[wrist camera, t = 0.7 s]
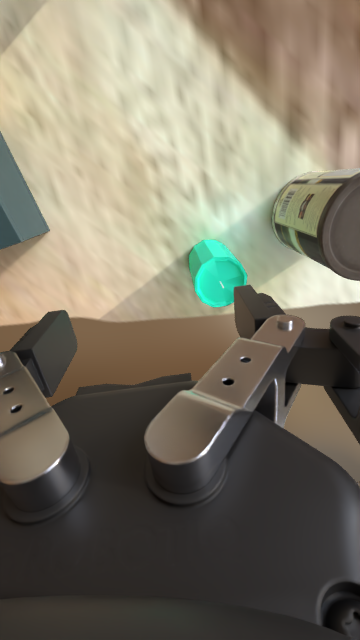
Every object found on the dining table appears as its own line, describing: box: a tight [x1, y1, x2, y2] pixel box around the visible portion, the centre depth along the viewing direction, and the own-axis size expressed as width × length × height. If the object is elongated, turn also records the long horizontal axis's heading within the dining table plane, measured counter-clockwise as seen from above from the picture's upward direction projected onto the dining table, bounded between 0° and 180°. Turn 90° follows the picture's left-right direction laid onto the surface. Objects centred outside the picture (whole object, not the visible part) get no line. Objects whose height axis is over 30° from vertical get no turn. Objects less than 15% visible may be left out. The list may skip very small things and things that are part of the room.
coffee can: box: [272, 168, 360, 281], centre depth 33 cm, size 10×10×14 cm
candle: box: [189, 240, 247, 307], centre depth 36 cm, size 6×6×12 cm
